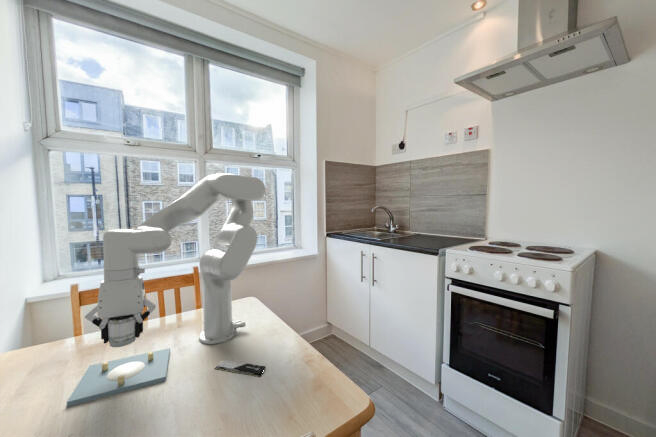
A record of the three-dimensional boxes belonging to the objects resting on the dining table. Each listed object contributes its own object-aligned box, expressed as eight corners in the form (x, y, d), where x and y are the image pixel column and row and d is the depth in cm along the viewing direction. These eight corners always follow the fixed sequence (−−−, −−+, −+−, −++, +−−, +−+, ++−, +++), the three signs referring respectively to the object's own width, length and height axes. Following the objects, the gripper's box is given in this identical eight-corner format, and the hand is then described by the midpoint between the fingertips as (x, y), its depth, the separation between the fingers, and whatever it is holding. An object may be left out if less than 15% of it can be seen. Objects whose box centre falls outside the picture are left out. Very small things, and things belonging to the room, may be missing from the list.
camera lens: (118, 349, 69) (118, 320, 69) (102, 345, 71) (102, 317, 71) (142, 338, 75) (141, 311, 75) (126, 335, 77) (126, 308, 77)
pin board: (170, 351, 86) (169, 342, 85) (165, 380, 71) (165, 369, 71) (90, 369, 76) (89, 358, 76) (66, 406, 62) (66, 393, 62)
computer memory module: (214, 366, 77) (223, 359, 80) (214, 370, 77) (223, 362, 80) (260, 375, 73) (267, 366, 77) (260, 378, 73) (267, 369, 77)
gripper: (160, 268, 80) (161, 326, 80) (85, 274, 72) (87, 339, 72) (157, 274, 73) (158, 337, 74) (74, 281, 65) (76, 352, 66)
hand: (123, 337), depth 73 cm, fingers closed on camera lens, 6 cm apart
